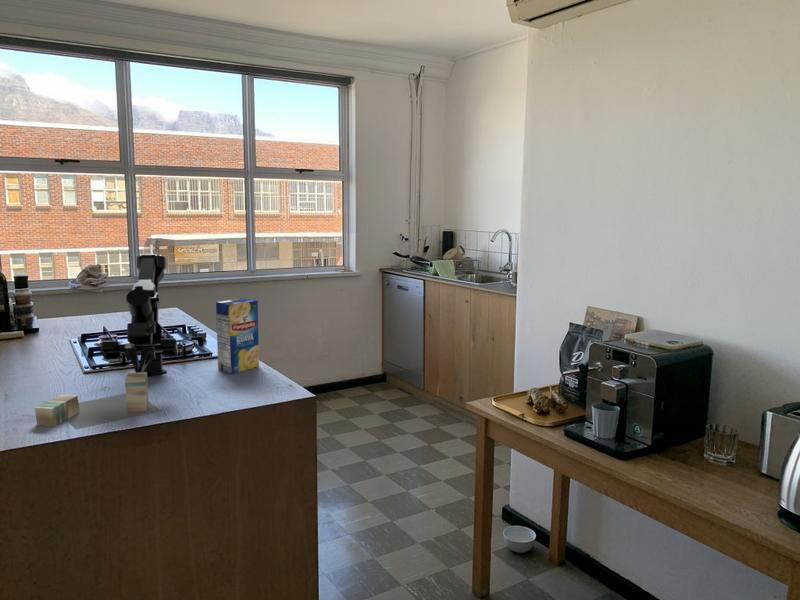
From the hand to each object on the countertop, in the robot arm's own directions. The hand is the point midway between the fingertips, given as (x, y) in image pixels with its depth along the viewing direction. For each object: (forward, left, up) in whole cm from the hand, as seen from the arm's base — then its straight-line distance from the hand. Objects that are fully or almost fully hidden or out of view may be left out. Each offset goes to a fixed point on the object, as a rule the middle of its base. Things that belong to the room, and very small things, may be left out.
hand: (138, 376), depth 159 cm
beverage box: (-15, +36, -8) cm, 40 cm away
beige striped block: (-4, -15, -5) cm, 17 cm away
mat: (-1, -8, -8) cm, 11 cm away
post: (+3, -2, -7) cm, 8 cm away
